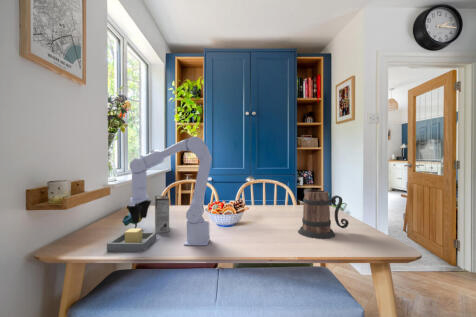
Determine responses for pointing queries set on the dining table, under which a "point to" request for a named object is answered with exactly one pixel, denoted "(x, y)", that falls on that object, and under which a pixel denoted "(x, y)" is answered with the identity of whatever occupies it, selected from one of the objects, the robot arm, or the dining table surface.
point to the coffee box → (161, 214)
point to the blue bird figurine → (129, 220)
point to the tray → (120, 244)
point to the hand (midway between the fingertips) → (139, 220)
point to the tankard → (319, 215)
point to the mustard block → (133, 235)
